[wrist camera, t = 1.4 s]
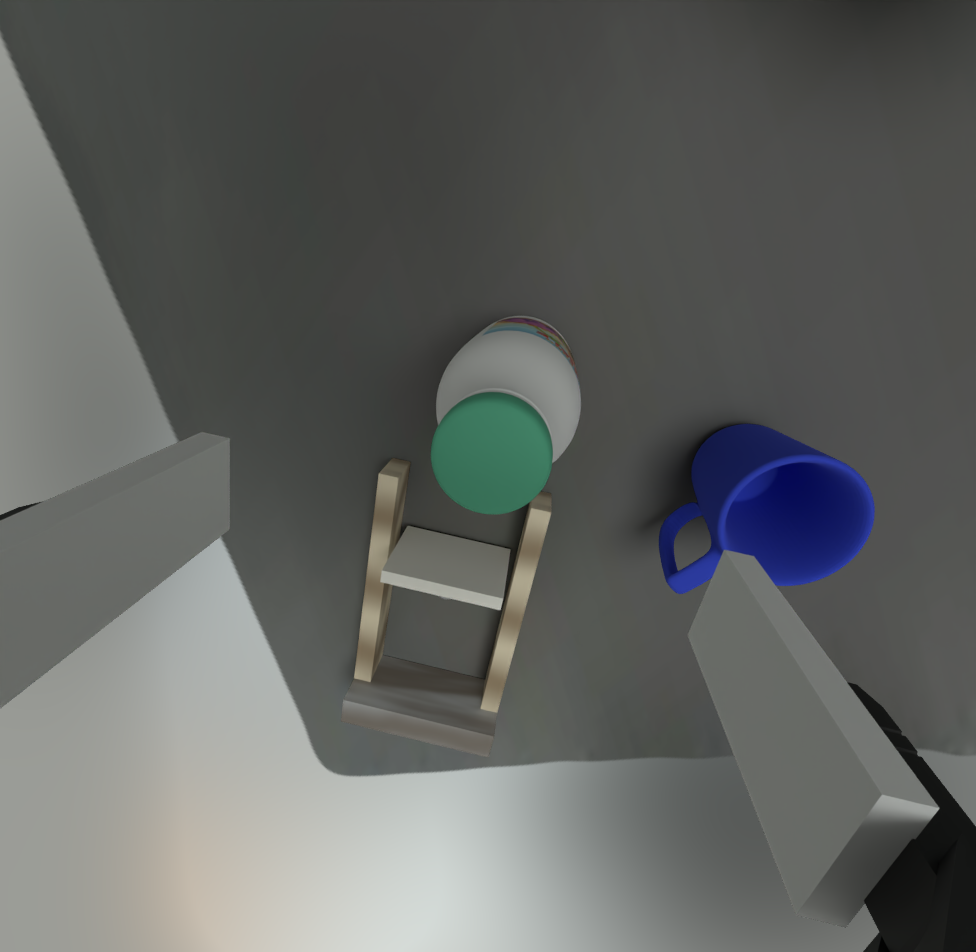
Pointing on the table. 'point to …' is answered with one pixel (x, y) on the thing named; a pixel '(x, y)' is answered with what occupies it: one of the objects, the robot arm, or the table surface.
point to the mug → (770, 508)
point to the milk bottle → (505, 415)
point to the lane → (419, 688)
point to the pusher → (448, 567)
